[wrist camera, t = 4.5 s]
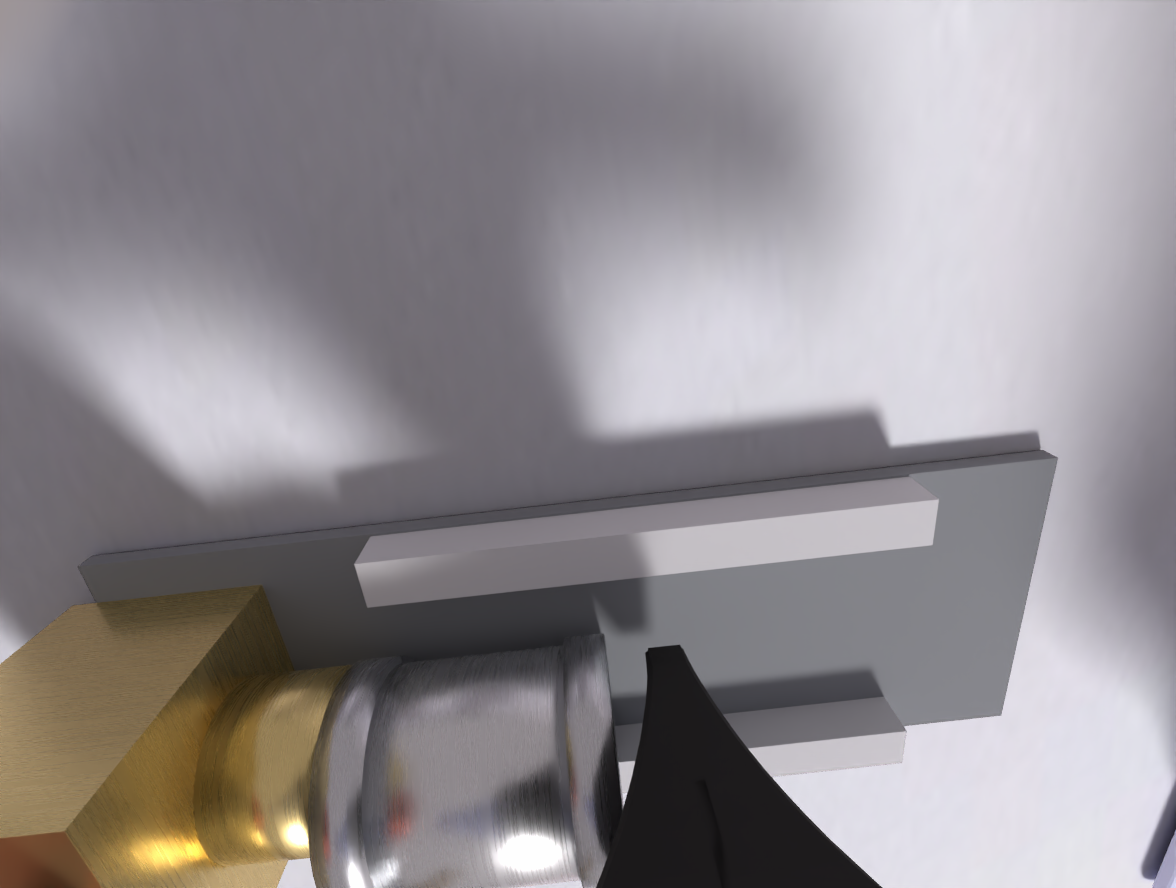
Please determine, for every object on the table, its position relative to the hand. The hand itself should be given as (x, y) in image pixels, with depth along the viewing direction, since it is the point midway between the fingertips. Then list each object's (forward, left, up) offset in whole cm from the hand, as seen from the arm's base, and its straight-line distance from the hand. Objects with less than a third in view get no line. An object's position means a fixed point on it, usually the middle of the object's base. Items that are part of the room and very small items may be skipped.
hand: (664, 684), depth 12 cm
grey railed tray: (+2, 0, -2) cm, 2 cm away
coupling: (+4, 0, -1) cm, 4 cm away
